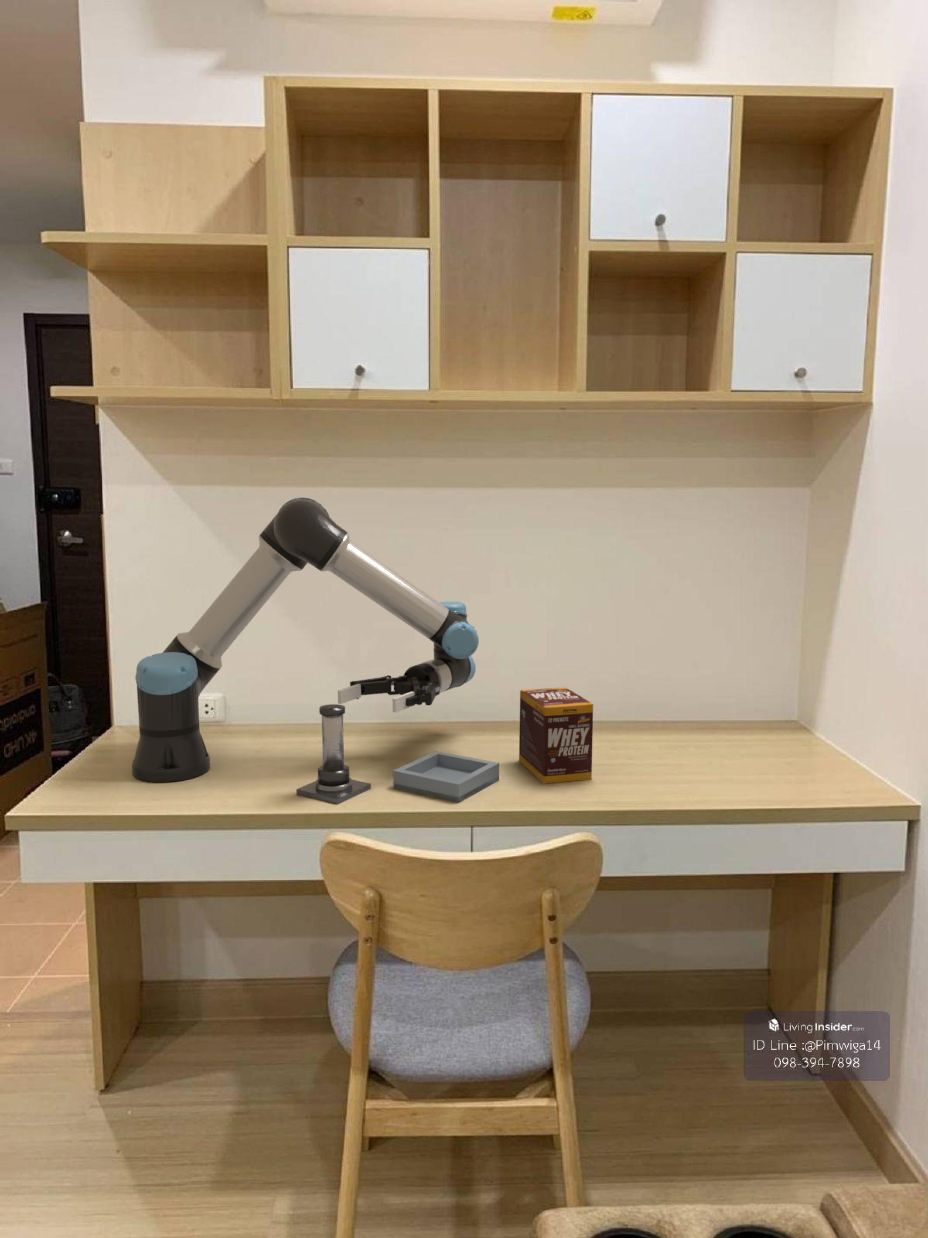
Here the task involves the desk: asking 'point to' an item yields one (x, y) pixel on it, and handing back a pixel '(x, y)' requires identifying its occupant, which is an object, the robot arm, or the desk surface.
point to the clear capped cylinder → (333, 747)
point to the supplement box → (556, 734)
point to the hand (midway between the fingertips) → (366, 701)
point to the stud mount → (333, 791)
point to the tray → (446, 776)
